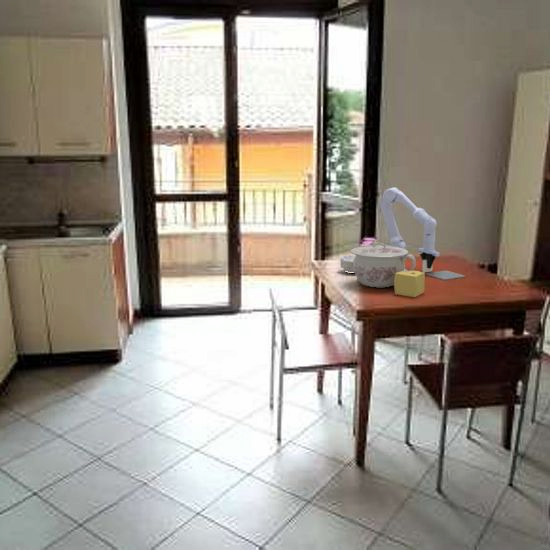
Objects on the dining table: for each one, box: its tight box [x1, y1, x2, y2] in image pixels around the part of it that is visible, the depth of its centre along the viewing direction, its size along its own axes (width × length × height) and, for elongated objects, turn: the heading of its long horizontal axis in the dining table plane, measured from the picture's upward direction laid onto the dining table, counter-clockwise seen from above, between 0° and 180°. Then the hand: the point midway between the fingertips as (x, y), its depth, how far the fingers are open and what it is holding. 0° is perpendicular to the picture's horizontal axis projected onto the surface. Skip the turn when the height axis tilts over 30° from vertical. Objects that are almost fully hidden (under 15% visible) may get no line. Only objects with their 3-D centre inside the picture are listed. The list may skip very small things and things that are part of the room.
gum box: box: [357, 236, 379, 247], centre depth 309 cm, size 24×8×14 cm, turn 161°
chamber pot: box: [350, 242, 417, 289], centre depth 264 cm, size 28×28×21 cm
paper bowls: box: [339, 254, 356, 272], centre depth 291 cm, size 15×15×8 cm
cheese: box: [393, 270, 426, 298], centre depth 249 cm, size 10×11×10 cm
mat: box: [425, 270, 467, 281], centre depth 281 cm, size 14×14×1 cm
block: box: [421, 260, 434, 273], centre depth 287 cm, size 5×2×6 cm, turn 115°
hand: (427, 267), depth 287 cm, fingers closed on block, 2 cm apart
